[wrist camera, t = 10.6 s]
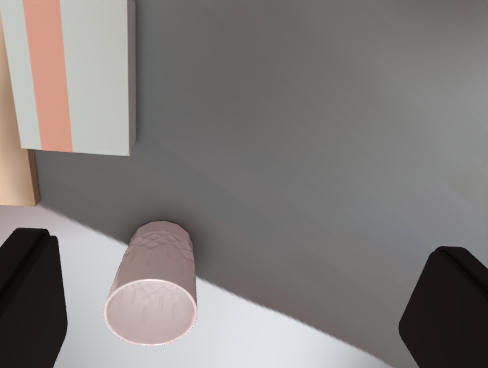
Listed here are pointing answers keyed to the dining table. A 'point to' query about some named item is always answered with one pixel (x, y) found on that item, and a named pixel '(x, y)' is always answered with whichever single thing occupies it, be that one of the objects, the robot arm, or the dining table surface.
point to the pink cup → (154, 287)
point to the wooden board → (13, 146)
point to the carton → (73, 73)
